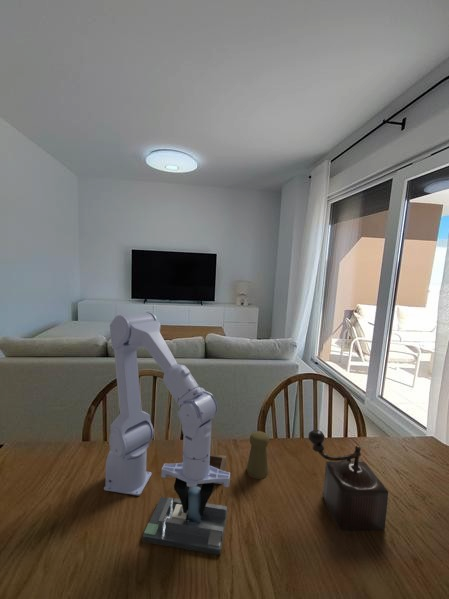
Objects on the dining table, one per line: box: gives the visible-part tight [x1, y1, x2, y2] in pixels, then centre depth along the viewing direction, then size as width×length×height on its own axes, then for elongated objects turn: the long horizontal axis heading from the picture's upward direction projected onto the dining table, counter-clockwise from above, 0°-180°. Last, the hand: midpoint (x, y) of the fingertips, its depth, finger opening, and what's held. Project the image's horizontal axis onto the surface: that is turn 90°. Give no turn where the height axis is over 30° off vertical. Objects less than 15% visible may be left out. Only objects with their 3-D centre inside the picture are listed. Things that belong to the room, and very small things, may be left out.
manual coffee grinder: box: [308, 429, 389, 532], centre depth 69 cm, size 16×11×18 cm
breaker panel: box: [142, 496, 228, 556], centre depth 64 cm, size 16×10×3 cm, turn 82°
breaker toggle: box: [172, 504, 188, 521], centre depth 64 cm, size 3×3×2 cm
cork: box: [246, 430, 270, 480], centre depth 82 cm, size 6×6×11 cm
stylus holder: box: [210, 453, 227, 485], centre depth 81 cm, size 8×8×3 cm
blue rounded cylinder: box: [187, 485, 201, 523], centre depth 63 cm, size 3×3×6 cm
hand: (194, 510), depth 63 cm, fingers closed on blue rounded cylinder, 3 cm apart
